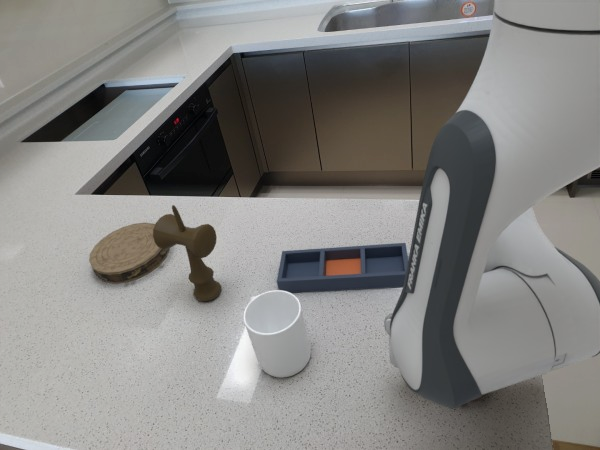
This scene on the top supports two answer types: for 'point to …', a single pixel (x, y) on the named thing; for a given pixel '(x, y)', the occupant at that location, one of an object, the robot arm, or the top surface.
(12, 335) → the top surface
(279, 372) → the mug
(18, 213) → the top surface
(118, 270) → the wood slice coaster
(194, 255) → the kendama
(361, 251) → the grid
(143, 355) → the top surface
